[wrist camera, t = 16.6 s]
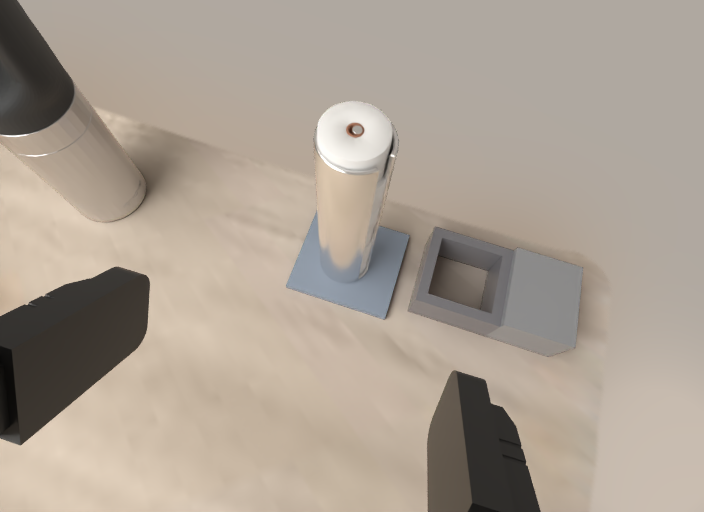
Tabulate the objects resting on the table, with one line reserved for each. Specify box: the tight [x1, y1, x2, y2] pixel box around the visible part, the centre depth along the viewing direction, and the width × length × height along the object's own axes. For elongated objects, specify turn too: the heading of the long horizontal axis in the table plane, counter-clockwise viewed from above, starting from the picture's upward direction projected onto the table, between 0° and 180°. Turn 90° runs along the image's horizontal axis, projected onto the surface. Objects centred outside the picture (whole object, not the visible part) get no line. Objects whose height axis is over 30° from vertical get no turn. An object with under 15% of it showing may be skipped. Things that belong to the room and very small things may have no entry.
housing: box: [408, 227, 583, 357], centre depth 50 cm, size 18×10×6 cm, turn 72°
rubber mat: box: [286, 212, 410, 319], centre depth 53 cm, size 13×12×1 cm
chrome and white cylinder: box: [313, 101, 399, 283], centre depth 41 cm, size 6×6×25 cm
